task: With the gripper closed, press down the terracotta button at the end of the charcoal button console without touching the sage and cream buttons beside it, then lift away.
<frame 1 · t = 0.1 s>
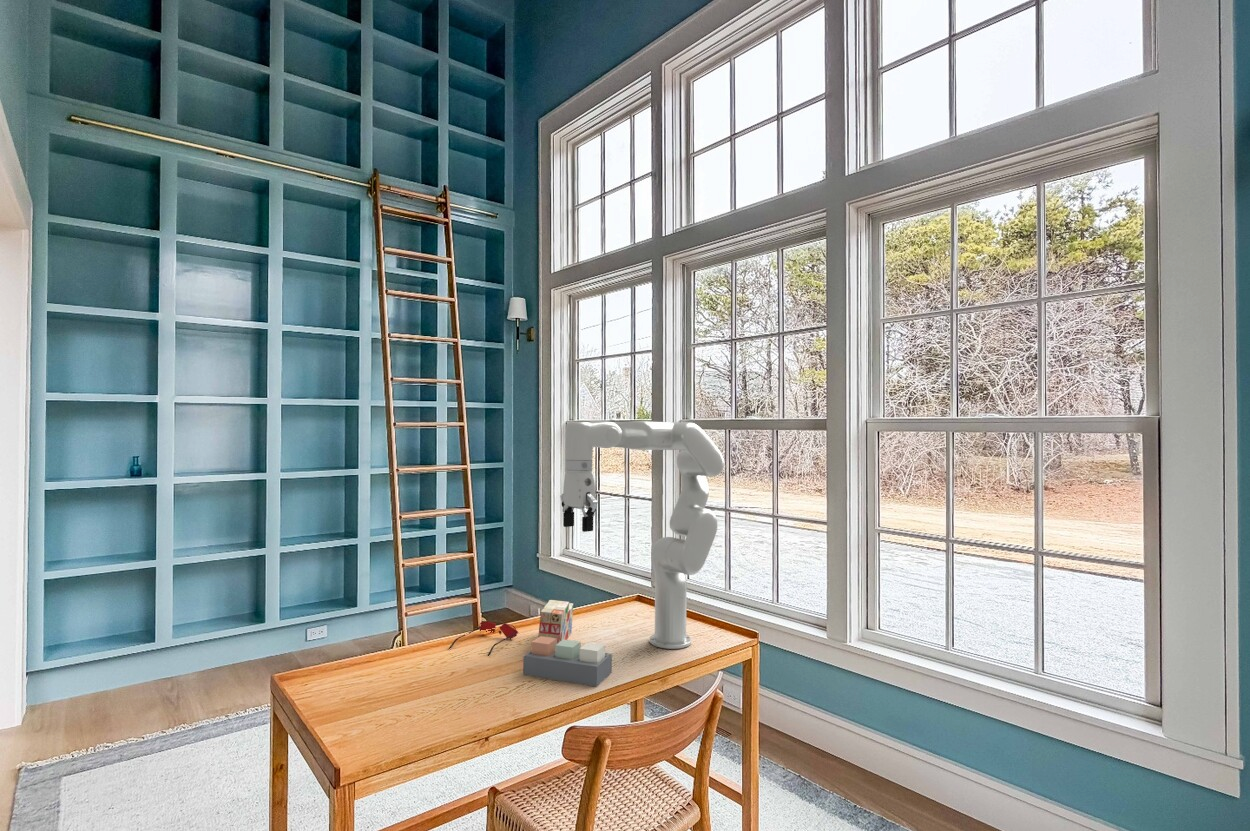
hand: (577, 528, 182), 37 cm above the table, tool pointing down, fingers open, 9 cm apart
terracotta button: (544, 649, 178), point 6 cm above the table, slide at 0.0 cm
stack of blocks: (554, 643, 199), on the table
sage button: (567, 652, 175), point 6 cm above the table, slide at 0.0 cm
glasses: (484, 646, 198), on the table
console: (567, 673, 175), on the table
cream button: (592, 656, 173), point 6 cm above the table, slide at 0.0 cm
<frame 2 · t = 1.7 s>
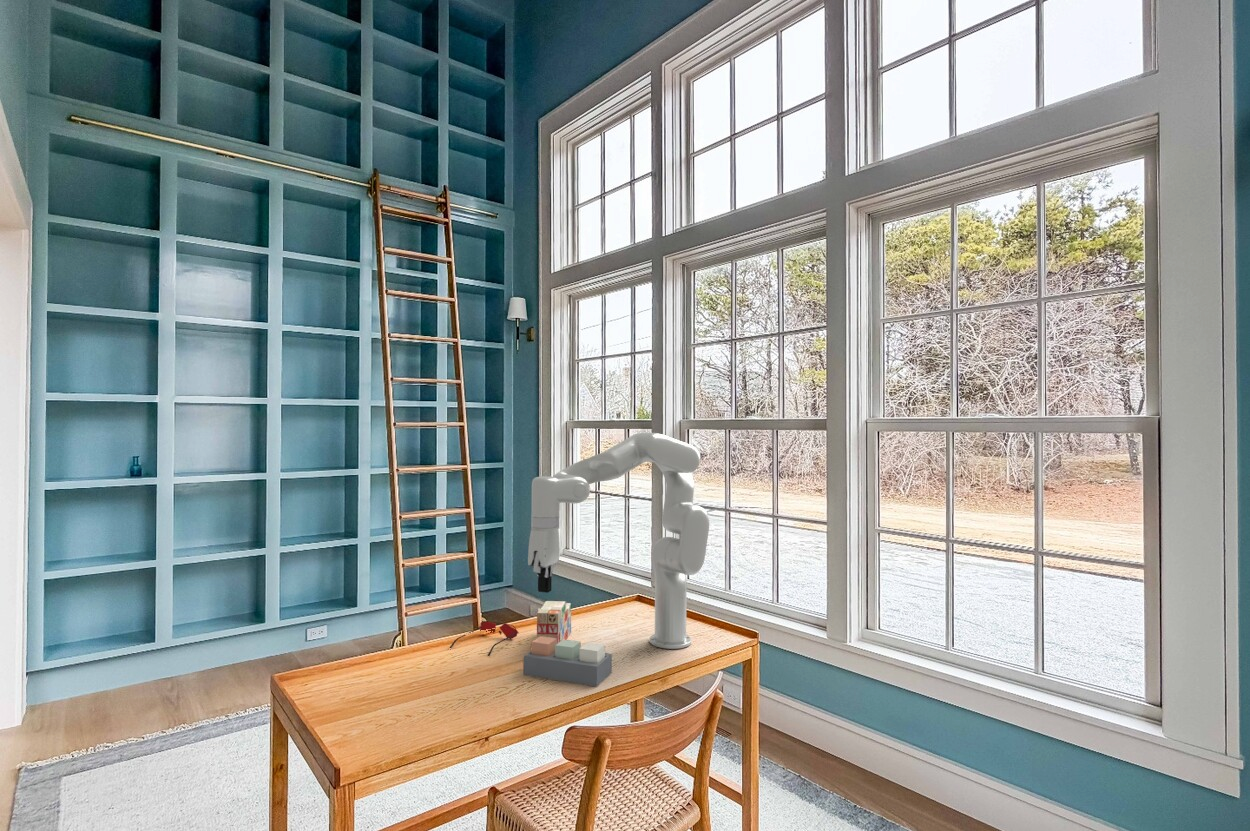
hand: (544, 591, 178), 21 cm above the table, tool pointing down, fingers closed
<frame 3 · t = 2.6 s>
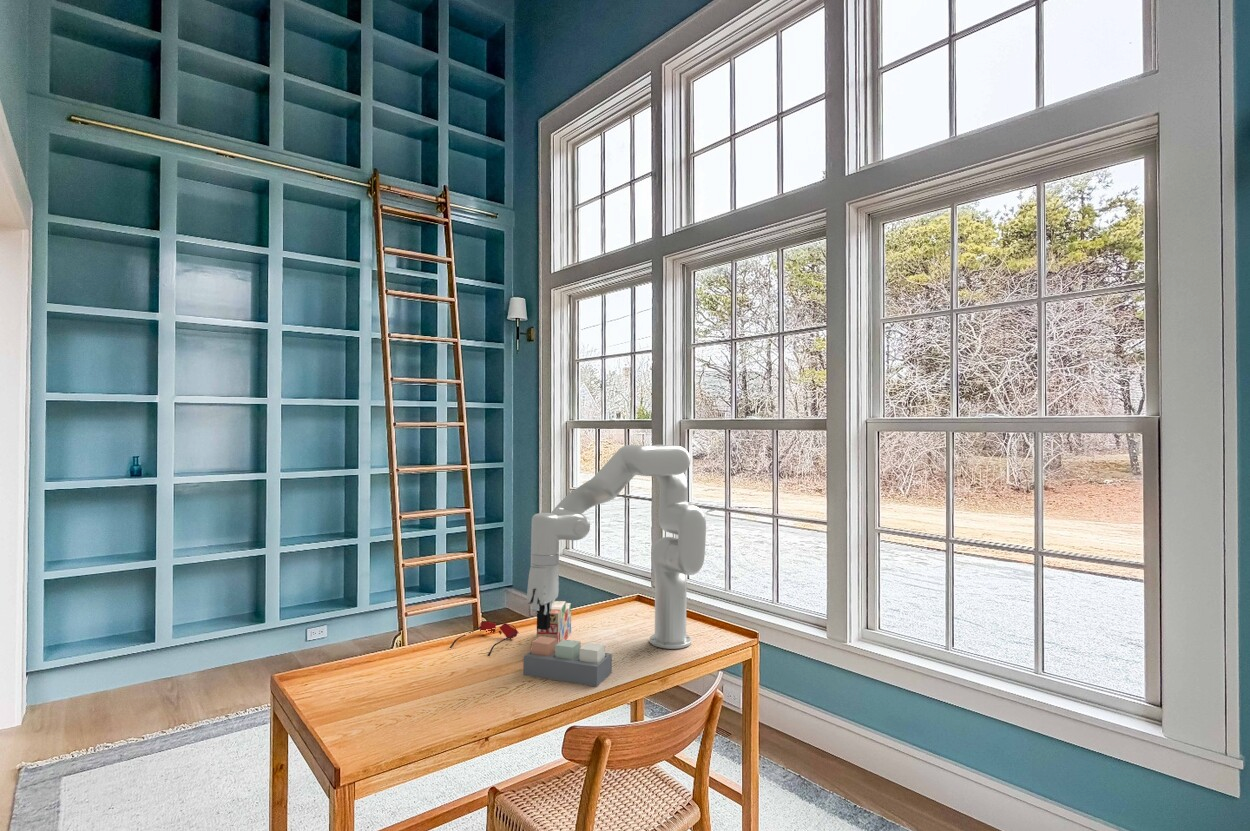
hand: (543, 628, 178), 11 cm above the table, tool pointing down, fingers closed
nothing on the table moved.
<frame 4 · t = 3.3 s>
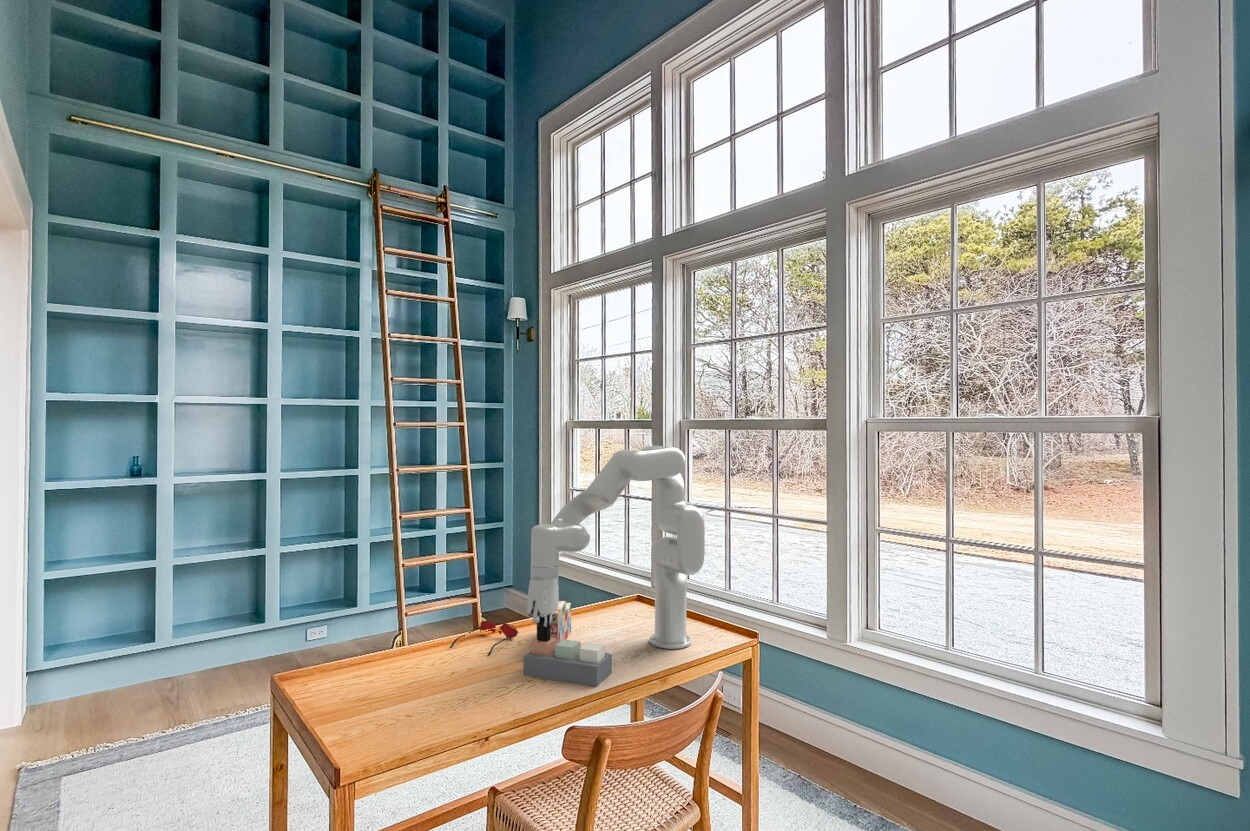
hand: (543, 640, 178), 8 cm above the table, tool pointing down, fingers closed
terracotta button: (544, 649, 178), point 6 cm above the table, slide at 0.0 cm, touching gripper
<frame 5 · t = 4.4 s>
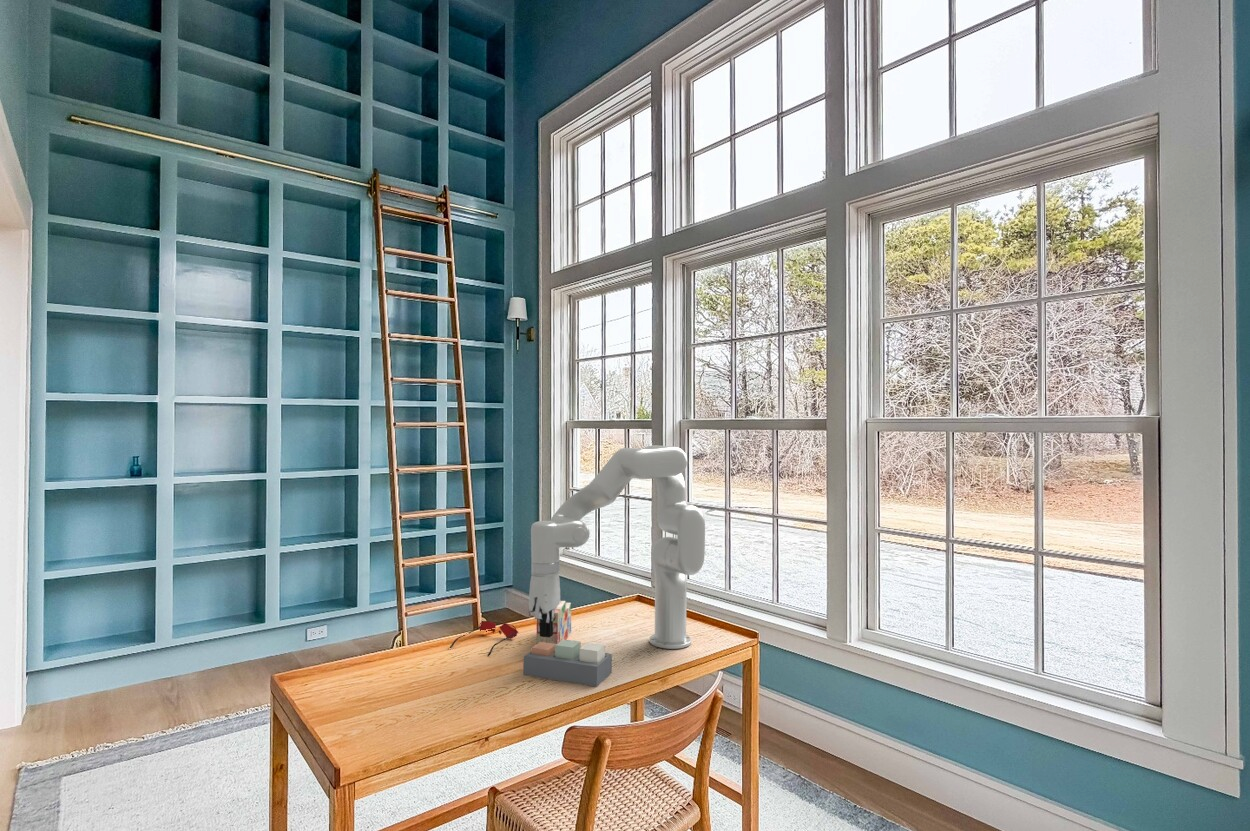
hand: (546, 635, 178), 9 cm above the table, tool pointing down, fingers closed
terracotta button: (544, 655, 178), point 4 cm above the table, slide at 1.5 cm
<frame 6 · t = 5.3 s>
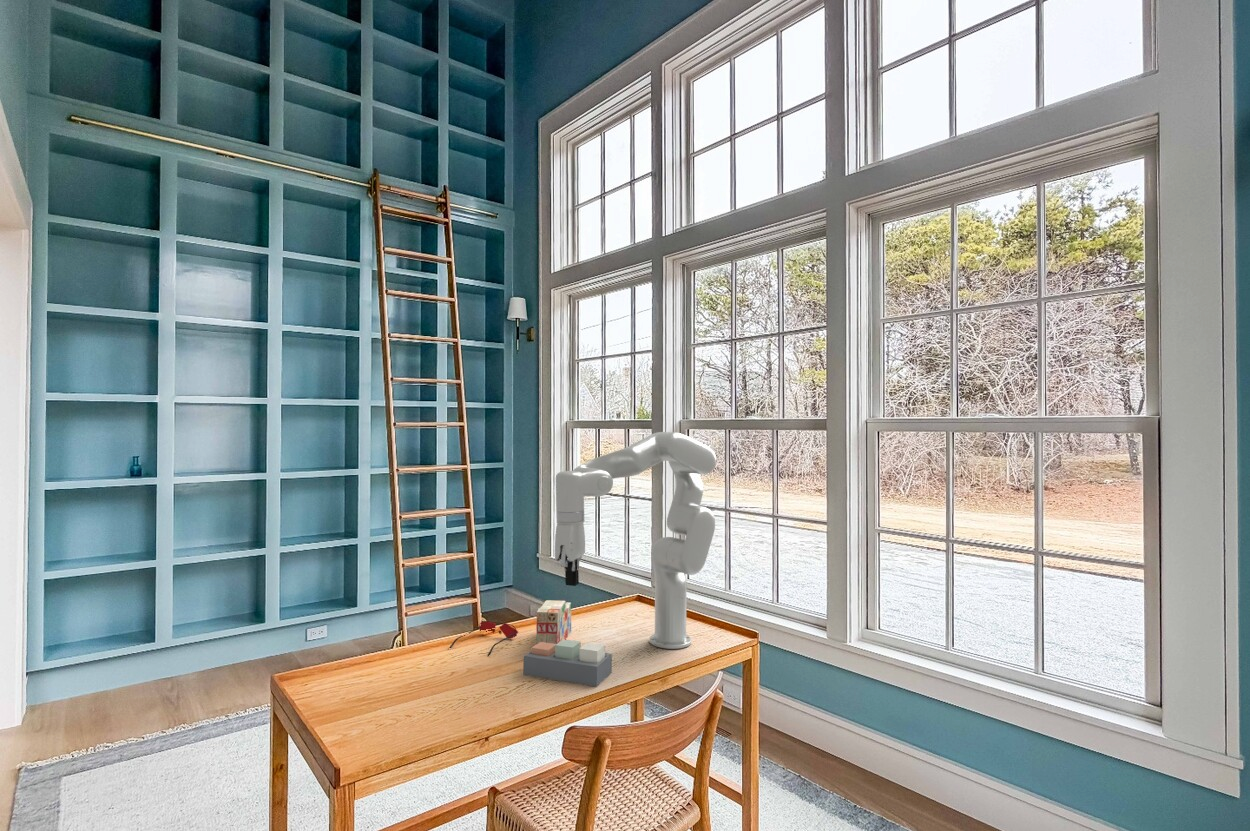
hand: (572, 584, 179), 23 cm above the table, tool pointing down, fingers closed
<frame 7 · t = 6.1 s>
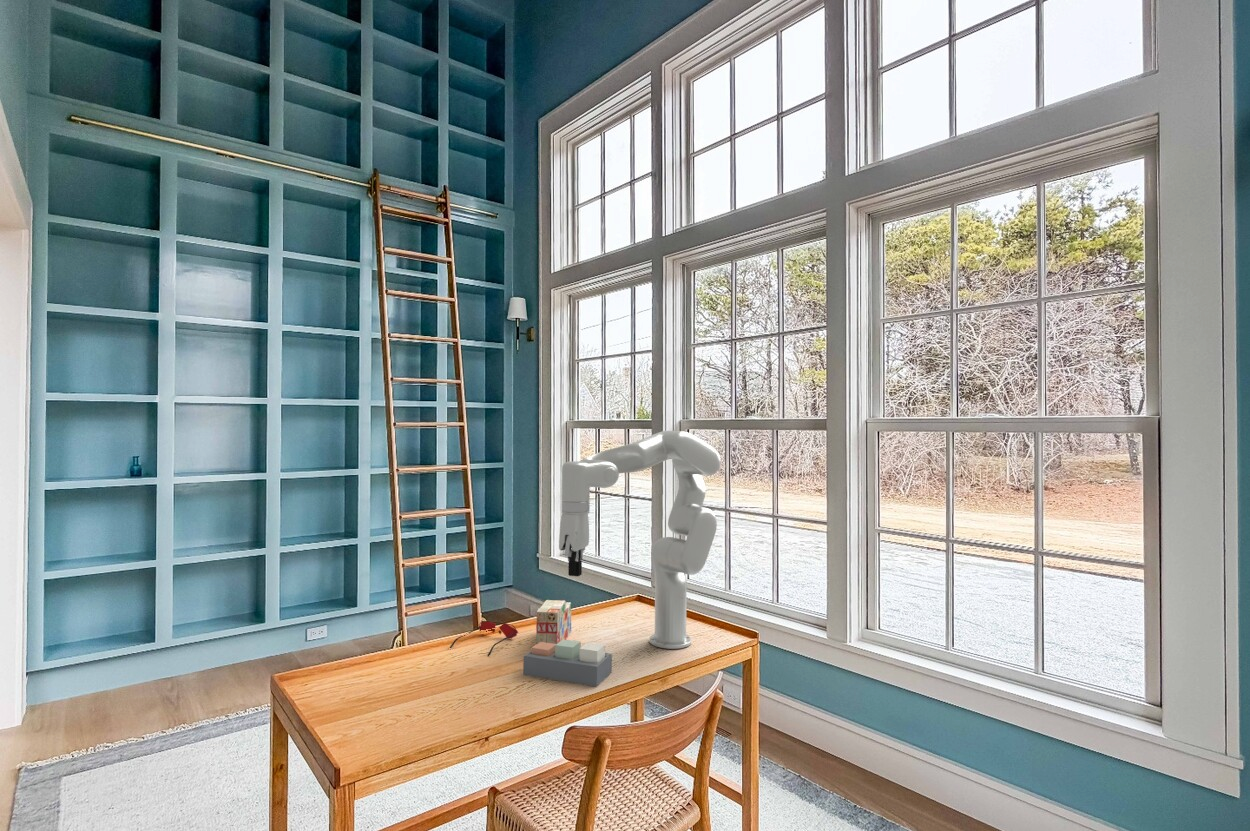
hand: (575, 575, 179), 25 cm above the table, tool pointing down, fingers closed
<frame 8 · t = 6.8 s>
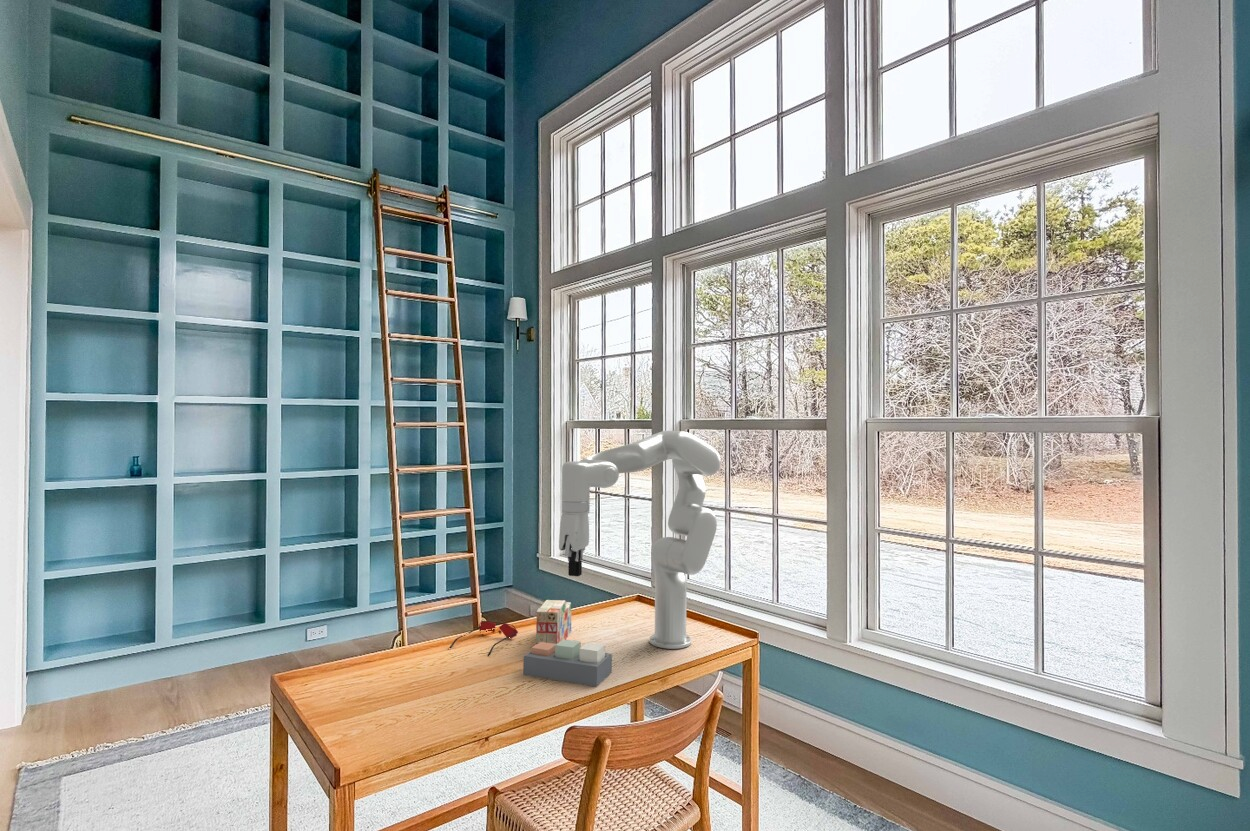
hand: (575, 575, 179), 25 cm above the table, tool pointing down, fingers closed
at the end: terracotta button slide at 1.5 cm; sage button slide at 0.0 cm; cream button slide at 0.0 cm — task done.
